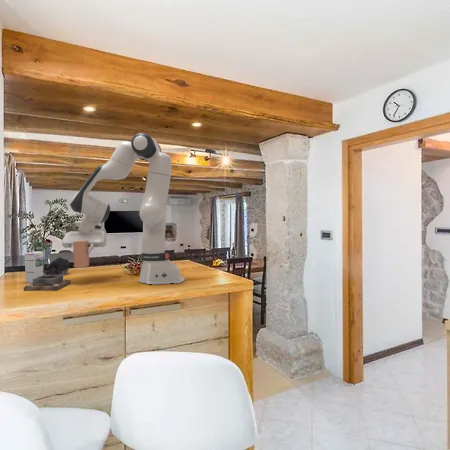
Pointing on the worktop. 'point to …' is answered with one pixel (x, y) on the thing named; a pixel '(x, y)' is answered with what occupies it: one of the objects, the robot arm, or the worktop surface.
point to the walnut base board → (47, 283)
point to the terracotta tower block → (81, 254)
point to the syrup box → (34, 265)
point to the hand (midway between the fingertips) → (80, 253)
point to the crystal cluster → (57, 267)
